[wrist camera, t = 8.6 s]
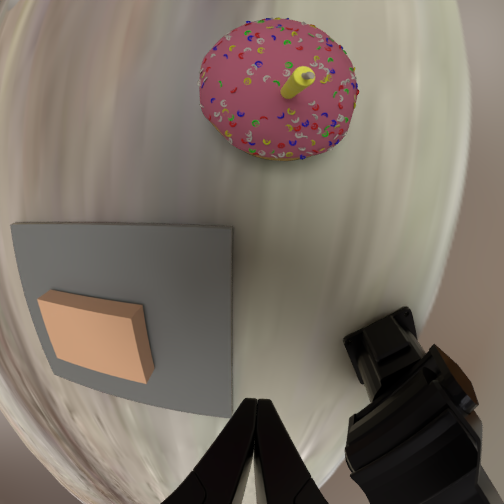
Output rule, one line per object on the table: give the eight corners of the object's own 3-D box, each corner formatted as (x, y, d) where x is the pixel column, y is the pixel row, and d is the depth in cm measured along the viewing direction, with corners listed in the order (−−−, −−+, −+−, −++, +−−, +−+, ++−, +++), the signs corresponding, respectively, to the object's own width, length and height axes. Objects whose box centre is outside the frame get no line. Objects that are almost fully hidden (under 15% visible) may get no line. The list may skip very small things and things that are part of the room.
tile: (131, 318, 19) (37, 298, 19) (146, 383, 21) (57, 357, 22) (143, 303, 21) (52, 288, 22) (155, 366, 23) (69, 345, 24)
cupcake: (354, 144, 17) (460, 127, 6) (238, 178, 19) (186, 202, 7) (312, 38, 15) (349, -69, 3) (199, 71, 16) (119, -15, 5)
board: (232, 226, 20) (231, 229, 19) (232, 413, 26) (231, 418, 25) (15, 222, 21) (10, 224, 20) (57, 370, 27) (54, 374, 26)
